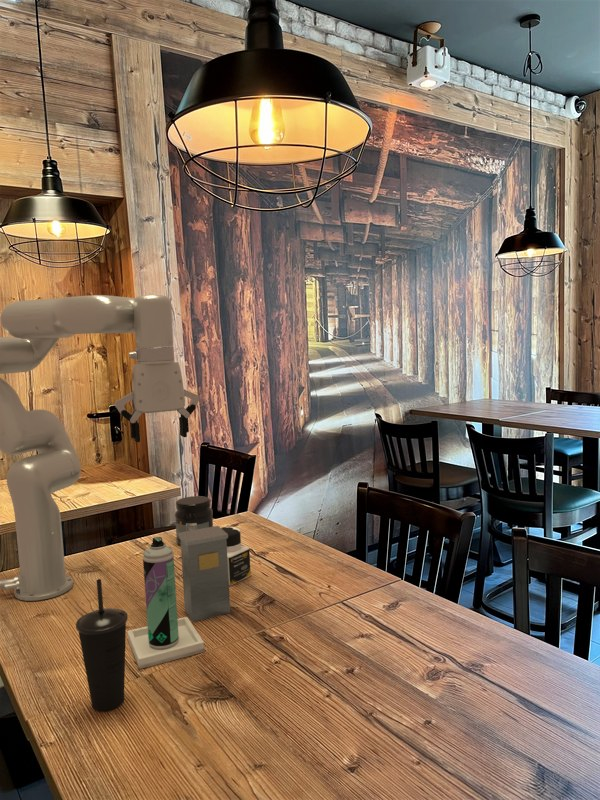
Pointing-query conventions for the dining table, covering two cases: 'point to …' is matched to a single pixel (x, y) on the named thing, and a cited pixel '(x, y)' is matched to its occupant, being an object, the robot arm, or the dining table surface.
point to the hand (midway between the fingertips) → (160, 438)
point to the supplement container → (192, 514)
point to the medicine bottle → (236, 556)
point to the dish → (149, 657)
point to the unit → (205, 573)
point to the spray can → (160, 595)
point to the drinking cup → (104, 654)
